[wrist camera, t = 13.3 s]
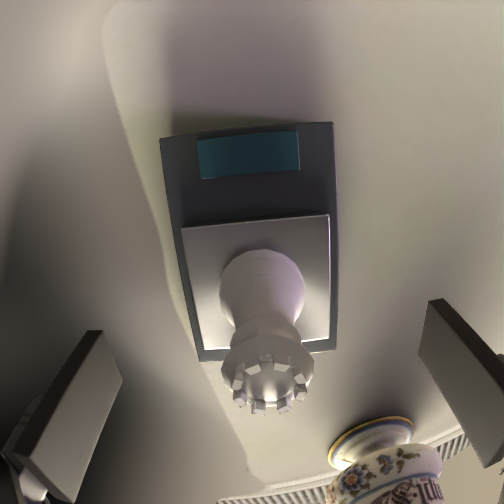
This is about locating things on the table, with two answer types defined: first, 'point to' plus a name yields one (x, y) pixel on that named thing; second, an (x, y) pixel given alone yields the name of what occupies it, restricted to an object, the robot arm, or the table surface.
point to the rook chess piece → (264, 331)
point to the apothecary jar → (384, 466)
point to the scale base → (252, 191)
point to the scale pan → (257, 238)
